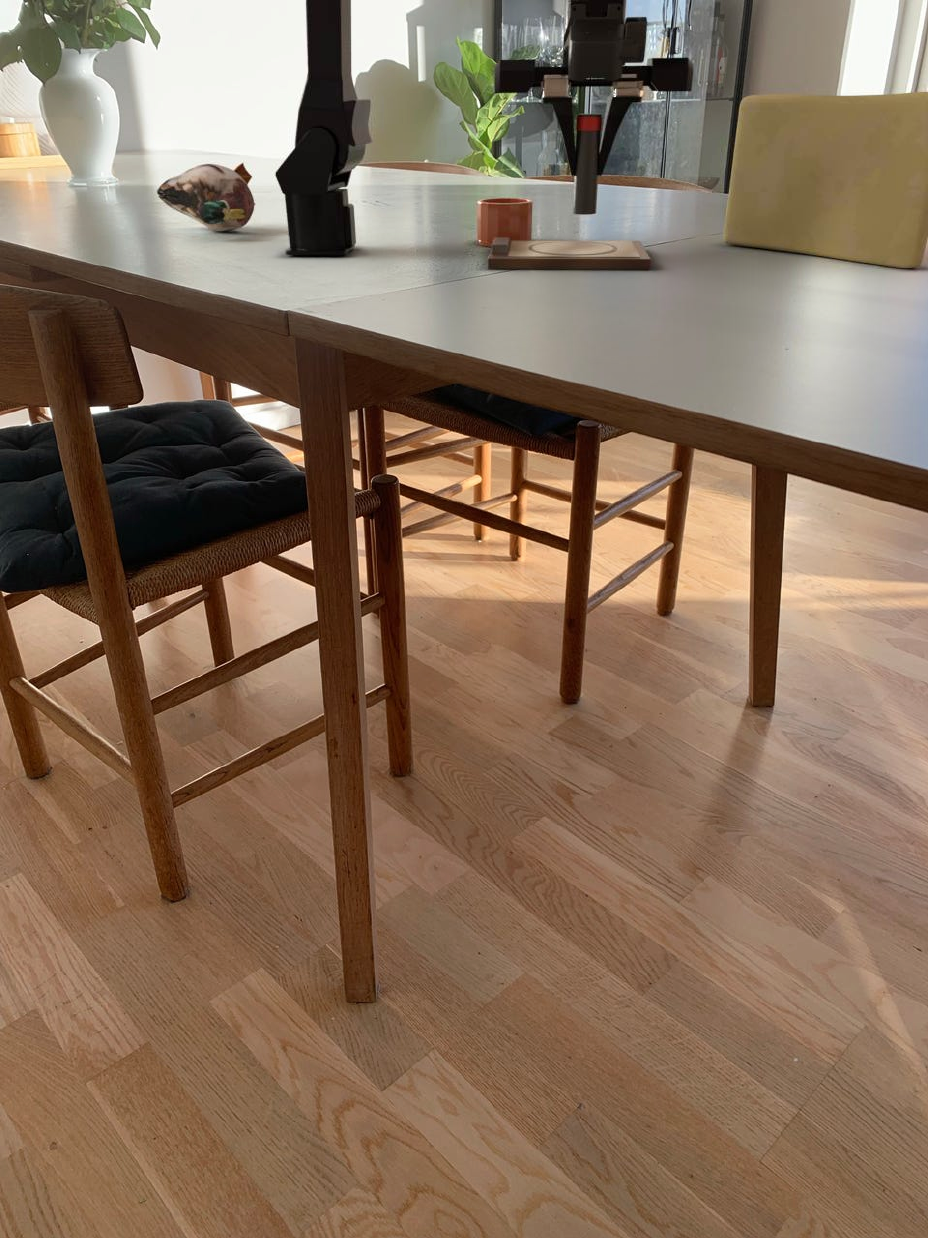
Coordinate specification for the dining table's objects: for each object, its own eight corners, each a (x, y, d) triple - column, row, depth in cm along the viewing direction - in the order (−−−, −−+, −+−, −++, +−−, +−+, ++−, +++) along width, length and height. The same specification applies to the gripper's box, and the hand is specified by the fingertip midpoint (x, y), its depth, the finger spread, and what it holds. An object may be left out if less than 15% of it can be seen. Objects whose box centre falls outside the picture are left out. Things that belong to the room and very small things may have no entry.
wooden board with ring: (487, 268, 91) (488, 249, 90) (493, 249, 101) (493, 232, 100) (650, 269, 90) (651, 250, 89) (639, 250, 100) (640, 232, 99)
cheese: (948, 264, 91) (991, 90, 83) (884, 274, 87) (923, 92, 79) (778, 237, 107) (801, 90, 100) (717, 244, 103) (737, 91, 96)
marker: (572, 214, 93) (577, 114, 89) (571, 211, 96) (576, 113, 91) (597, 214, 93) (603, 113, 89) (595, 211, 95) (601, 113, 91)
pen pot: (476, 247, 103) (476, 203, 101) (479, 239, 108) (479, 197, 106) (531, 247, 103) (532, 203, 100) (531, 239, 108) (532, 197, 106)
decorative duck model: (232, 183, 104) (109, 176, 106) (240, 252, 108) (122, 245, 110) (275, 159, 116) (164, 154, 118) (281, 222, 120) (174, 216, 122)
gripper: (491, -18, 78) (490, 183, 86) (712, -22, 77) (690, 182, 85) (497, -7, 88) (495, 173, 96) (693, -10, 87) (675, 172, 95)
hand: (586, 175), depth 93 cm, fingers closed on marker, 2 cm apart
